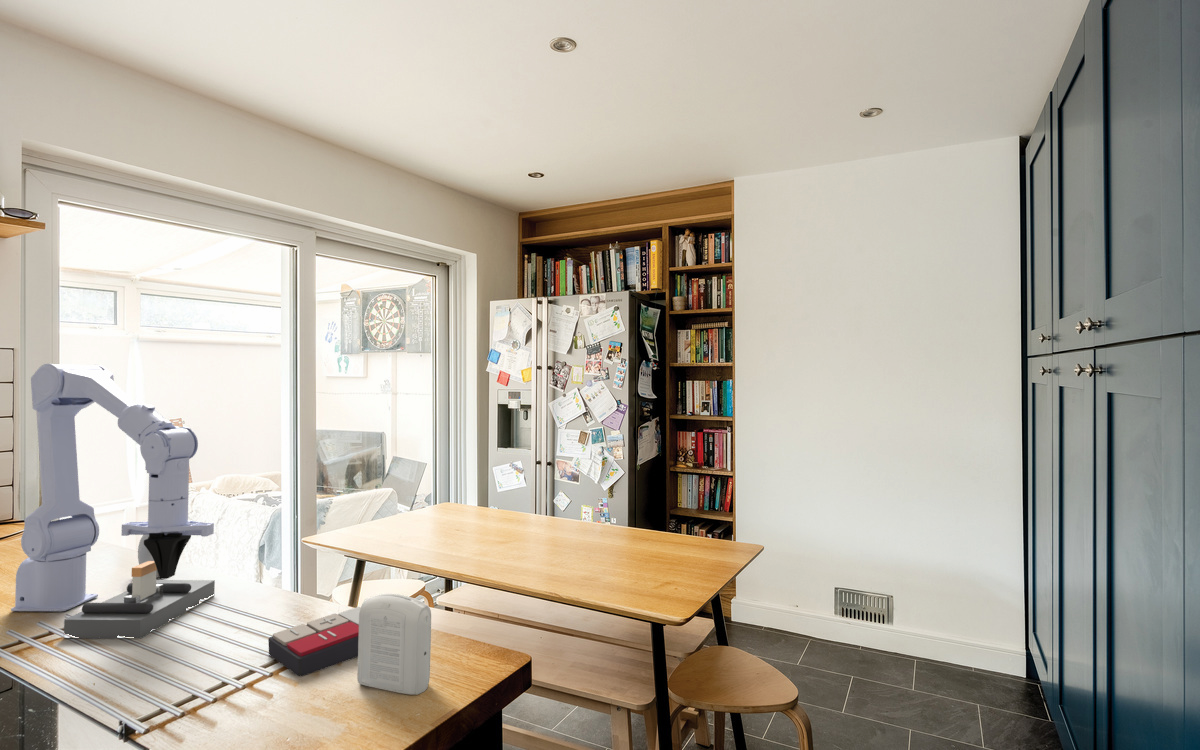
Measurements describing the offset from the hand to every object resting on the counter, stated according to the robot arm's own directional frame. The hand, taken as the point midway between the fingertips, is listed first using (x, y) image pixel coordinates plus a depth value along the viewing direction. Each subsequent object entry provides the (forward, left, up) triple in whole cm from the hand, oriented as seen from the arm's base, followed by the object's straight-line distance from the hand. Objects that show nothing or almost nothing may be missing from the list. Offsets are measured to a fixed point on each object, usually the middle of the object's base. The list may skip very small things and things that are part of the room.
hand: (167, 576), depth 108 cm
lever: (-4, 0, -3) cm, 5 cm away
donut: (-18, +23, -8) cm, 30 cm away
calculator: (+33, -12, -8) cm, 36 cm away
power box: (-5, +2, -7) cm, 9 cm away
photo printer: (+46, -23, -8) cm, 52 cm away
